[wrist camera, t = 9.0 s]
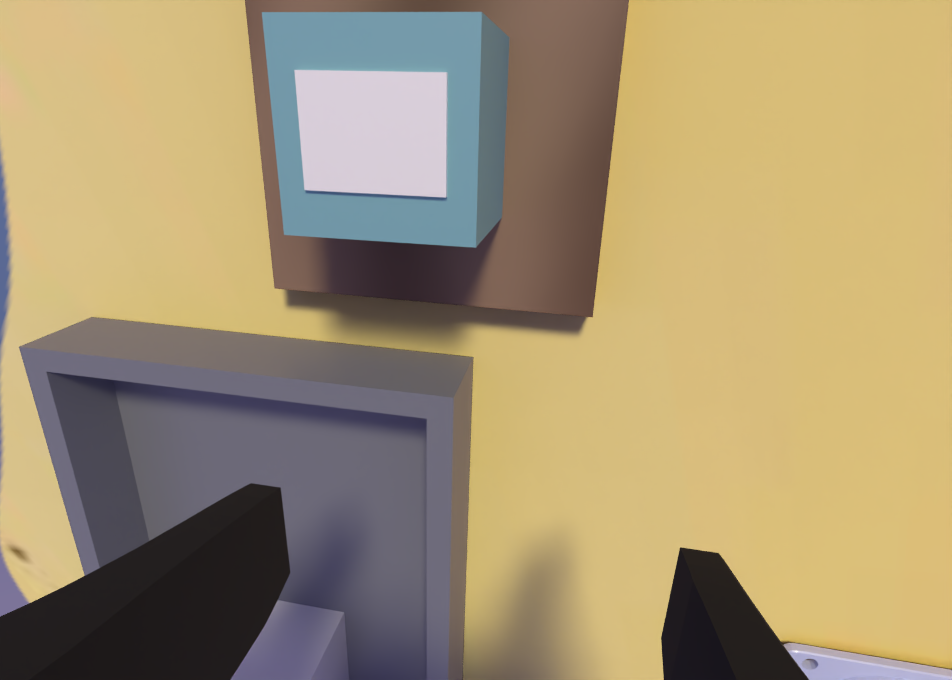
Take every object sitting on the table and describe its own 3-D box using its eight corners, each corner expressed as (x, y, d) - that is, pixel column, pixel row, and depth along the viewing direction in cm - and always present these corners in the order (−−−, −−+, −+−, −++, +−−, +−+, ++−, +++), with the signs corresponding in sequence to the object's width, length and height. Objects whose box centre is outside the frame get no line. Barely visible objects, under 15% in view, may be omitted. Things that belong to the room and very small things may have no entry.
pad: (636, -83, 14) (639, -100, 13) (592, 304, 18) (592, 317, 17) (260, -76, 16) (235, -90, 15) (292, 278, 19) (274, 288, 18)
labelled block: (509, 37, 14) (480, 11, 11) (502, 217, 16) (475, 248, 12) (340, 36, 15) (259, 11, 11) (350, 208, 17) (281, 235, 13)
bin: (473, 357, 19) (453, 397, 16) (460, 745, 27) (445, 817, 24) (91, 317, 22) (19, 347, 19) (176, 683, 29) (133, 743, 26)
